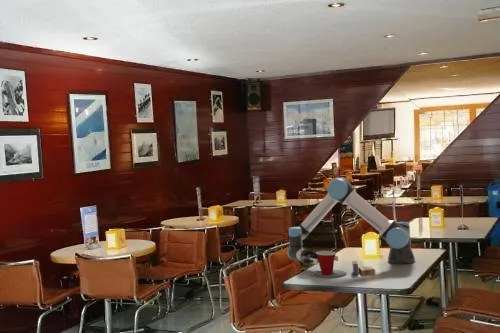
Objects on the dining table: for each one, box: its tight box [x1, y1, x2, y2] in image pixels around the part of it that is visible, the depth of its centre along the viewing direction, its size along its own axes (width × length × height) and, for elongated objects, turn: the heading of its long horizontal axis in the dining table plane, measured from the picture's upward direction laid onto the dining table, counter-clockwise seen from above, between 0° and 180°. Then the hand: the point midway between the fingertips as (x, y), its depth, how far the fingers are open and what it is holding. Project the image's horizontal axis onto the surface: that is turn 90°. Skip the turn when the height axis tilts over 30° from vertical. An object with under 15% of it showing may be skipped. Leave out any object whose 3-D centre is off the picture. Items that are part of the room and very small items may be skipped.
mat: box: [312, 269, 347, 279], centre depth 304 cm, size 18×18×1 cm
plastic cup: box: [315, 250, 337, 275], centre depth 303 cm, size 11×11×12 cm
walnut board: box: [358, 265, 376, 276], centre depth 302 cm, size 7×10×3 cm
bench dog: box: [351, 260, 359, 276], centre depth 302 cm, size 2×8×6 cm, turn 173°
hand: (327, 260), depth 305 cm, fingers open, 13 cm apart
